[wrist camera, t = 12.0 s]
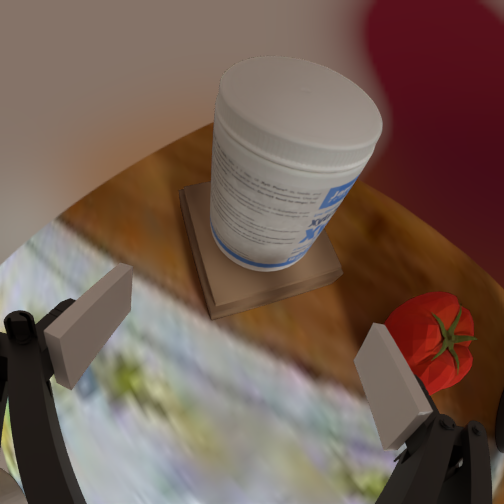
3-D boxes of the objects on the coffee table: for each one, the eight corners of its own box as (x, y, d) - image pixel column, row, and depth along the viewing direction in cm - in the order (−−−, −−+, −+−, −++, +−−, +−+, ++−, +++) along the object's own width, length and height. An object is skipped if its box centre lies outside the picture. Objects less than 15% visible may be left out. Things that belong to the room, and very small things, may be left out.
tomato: (387, 290, 30) (434, 260, 22) (445, 337, 28) (495, 320, 21) (346, 370, 26) (396, 363, 18) (414, 413, 24) (468, 414, 16)
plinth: (287, 185, 34) (295, 163, 30) (331, 283, 29) (347, 269, 26) (180, 206, 31) (177, 184, 27) (211, 320, 26) (211, 311, 22)
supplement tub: (303, 286, 24) (398, 182, 11) (196, 259, 24) (187, 121, 11) (314, 198, 29) (376, 82, 15) (225, 174, 28) (241, 42, 15)
